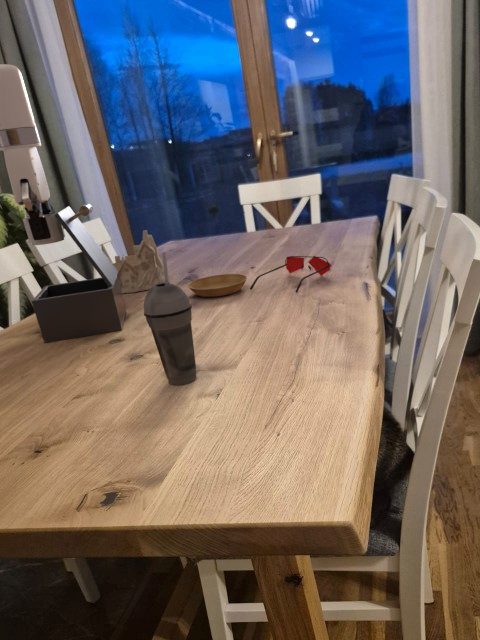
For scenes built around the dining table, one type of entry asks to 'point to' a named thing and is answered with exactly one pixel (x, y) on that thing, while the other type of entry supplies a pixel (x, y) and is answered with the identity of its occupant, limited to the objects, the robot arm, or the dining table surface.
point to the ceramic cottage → (140, 267)
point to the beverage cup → (172, 329)
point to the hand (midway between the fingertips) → (46, 235)
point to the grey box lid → (87, 242)
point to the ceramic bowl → (54, 229)
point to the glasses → (298, 263)
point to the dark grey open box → (79, 309)
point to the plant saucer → (218, 285)
